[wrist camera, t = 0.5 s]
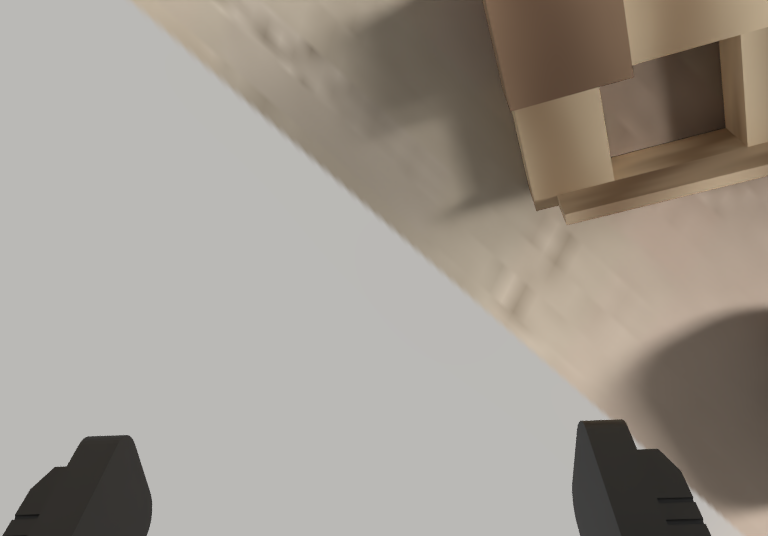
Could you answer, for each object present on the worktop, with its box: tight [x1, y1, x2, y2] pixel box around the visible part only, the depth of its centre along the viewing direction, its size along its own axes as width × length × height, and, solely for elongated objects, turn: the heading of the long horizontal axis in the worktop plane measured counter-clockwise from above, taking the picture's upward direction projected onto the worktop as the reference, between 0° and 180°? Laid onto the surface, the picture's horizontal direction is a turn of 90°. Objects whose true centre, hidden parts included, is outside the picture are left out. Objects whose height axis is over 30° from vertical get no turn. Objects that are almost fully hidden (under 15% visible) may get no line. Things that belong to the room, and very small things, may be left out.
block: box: [482, 0, 634, 112], centre depth 26 cm, size 4×4×3 cm
